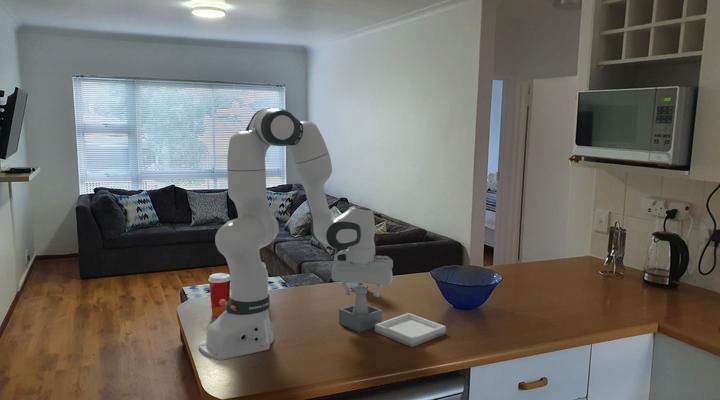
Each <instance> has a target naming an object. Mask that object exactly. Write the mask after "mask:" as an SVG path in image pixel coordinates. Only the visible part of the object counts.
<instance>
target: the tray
mask: <svg viewBox="0 0 720 400" xmlns="http://www.w3.org/2000/svg"><path fill="white" fill-rule="evenodd" d="M446 327H447V326H446V325H443V324H440V323H438V322H435V321H433V320H429V319H426V318H424V317H421V316H418V315H415V314H413V313H410V312H406V313H405V314H401V315H398V316H395V317H393V318H388V319H387V320H384V321H383V320H382V322H380V323H378V324H375V327H374V333H378V334H380V335H382V336H385V337H386V338H388V339H391V340H394V341H396V342H399V343H400V344H403V345H406V346H409V347H411V348H413V347H416V346H418V345H421V344H423V343H425V342H428V341H431V340H433V339H436V338H438V337H441V336H443V335H445V334H446V331H447V329H446Z"/></svg>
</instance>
